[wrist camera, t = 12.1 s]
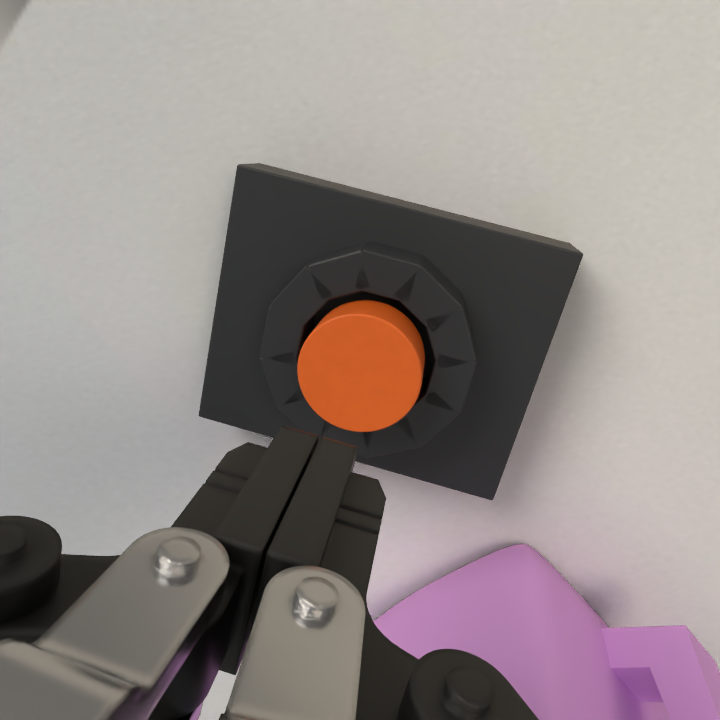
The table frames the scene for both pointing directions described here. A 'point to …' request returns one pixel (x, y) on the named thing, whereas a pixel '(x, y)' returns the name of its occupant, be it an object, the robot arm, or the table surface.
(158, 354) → the table surface
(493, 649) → the teapot
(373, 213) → the control box
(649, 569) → the table surface
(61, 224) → the table surface
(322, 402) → the button
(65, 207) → the table surface
